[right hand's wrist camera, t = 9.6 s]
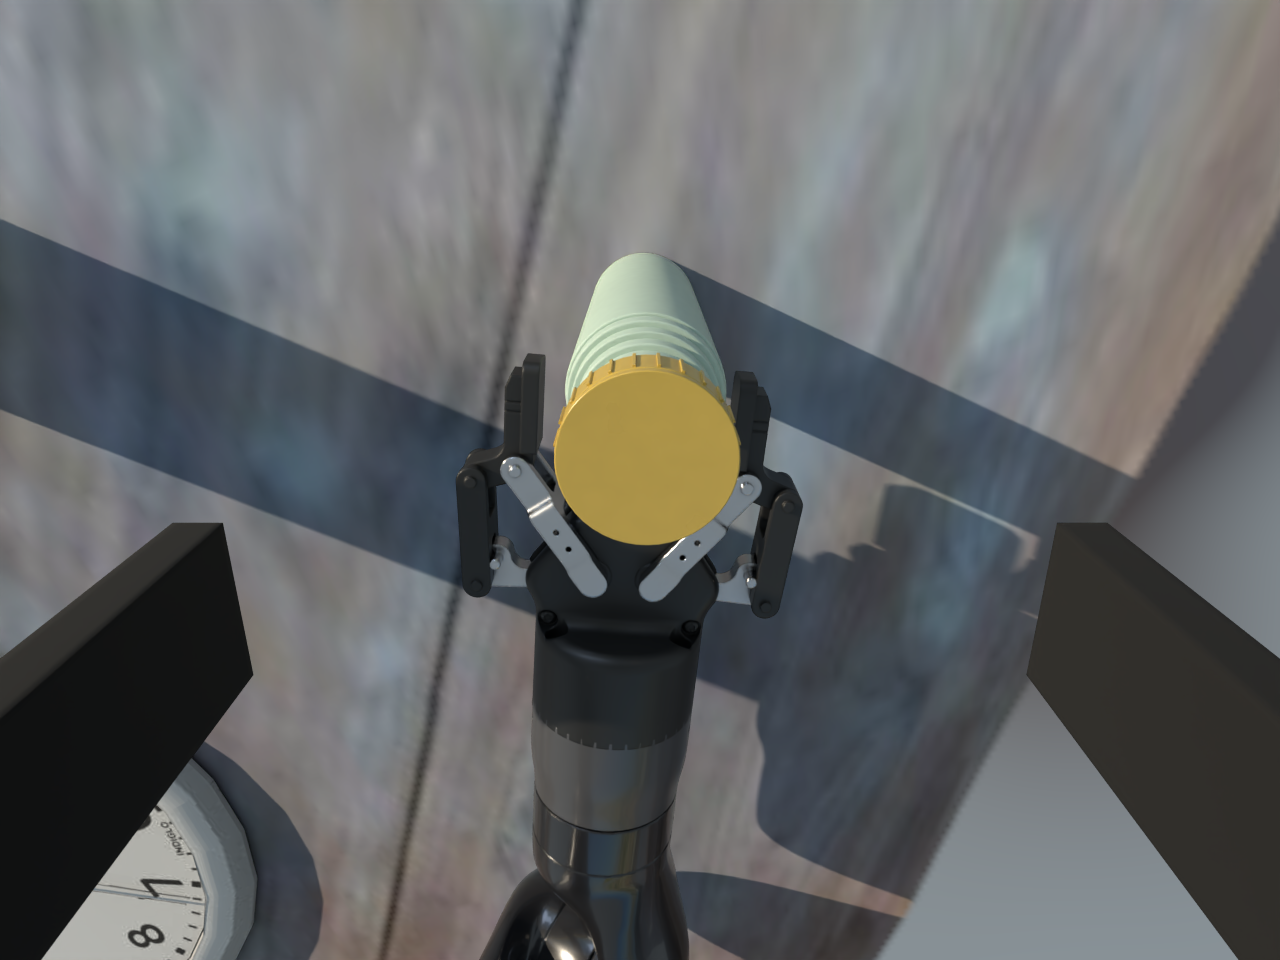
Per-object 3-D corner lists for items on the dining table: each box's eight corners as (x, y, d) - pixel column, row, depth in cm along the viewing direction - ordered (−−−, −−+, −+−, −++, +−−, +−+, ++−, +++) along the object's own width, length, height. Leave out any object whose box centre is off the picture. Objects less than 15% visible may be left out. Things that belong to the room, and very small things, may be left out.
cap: (752, 495, 21) (761, 522, 20) (587, 536, 22) (583, 566, 20) (711, 330, 20) (717, 345, 18) (535, 378, 20) (526, 397, 19)
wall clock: (340, 970, 52) (-34, 1100, 57) (349, 947, 54) (-17, 1075, 58) (25, 588, 42) (-399, 782, 47) (46, 573, 44) (-366, 762, 48)
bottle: (705, 340, 39) (768, 520, 20) (609, 367, 40) (579, 567, 21) (680, 240, 38) (722, 331, 18) (580, 268, 38) (518, 386, 19)
